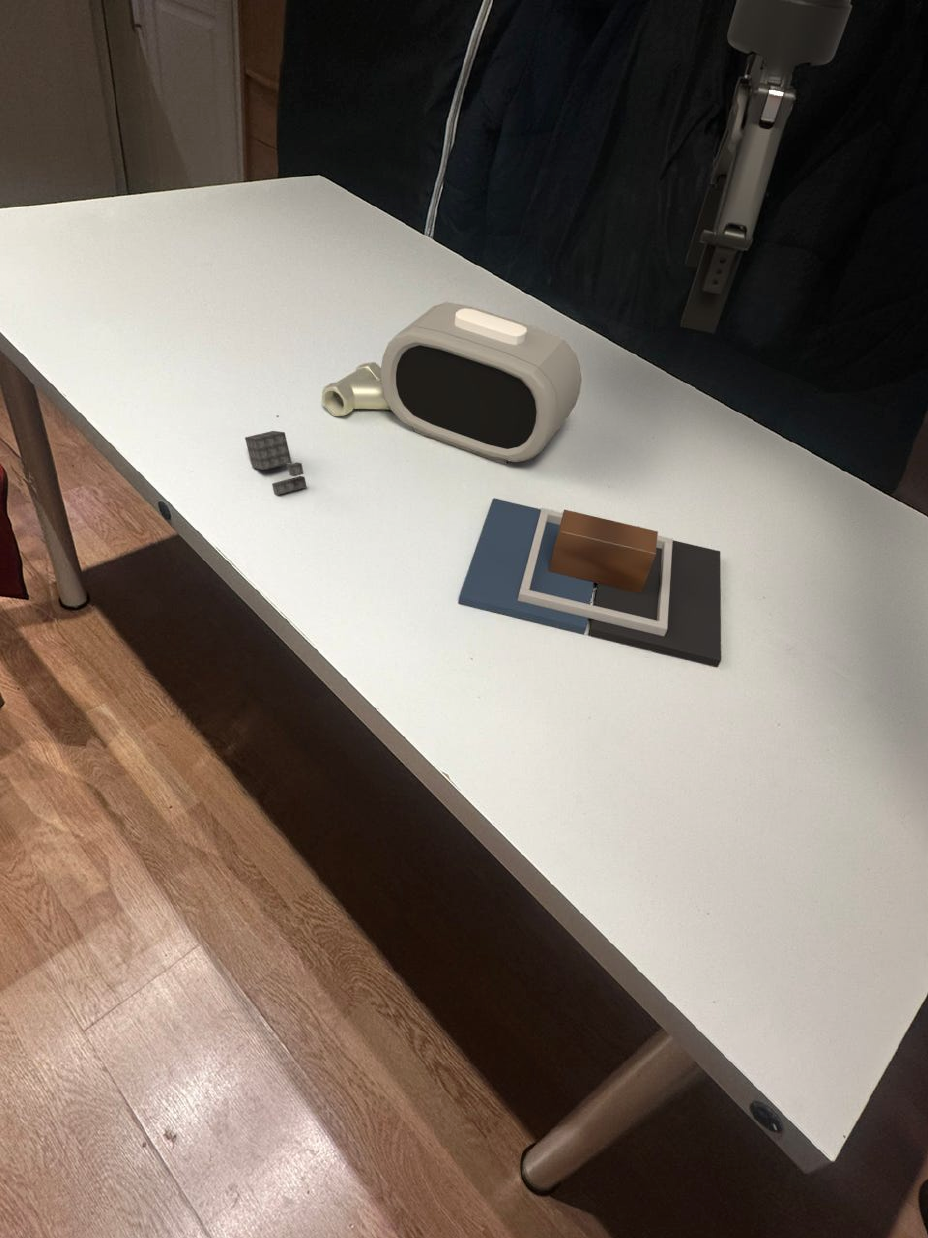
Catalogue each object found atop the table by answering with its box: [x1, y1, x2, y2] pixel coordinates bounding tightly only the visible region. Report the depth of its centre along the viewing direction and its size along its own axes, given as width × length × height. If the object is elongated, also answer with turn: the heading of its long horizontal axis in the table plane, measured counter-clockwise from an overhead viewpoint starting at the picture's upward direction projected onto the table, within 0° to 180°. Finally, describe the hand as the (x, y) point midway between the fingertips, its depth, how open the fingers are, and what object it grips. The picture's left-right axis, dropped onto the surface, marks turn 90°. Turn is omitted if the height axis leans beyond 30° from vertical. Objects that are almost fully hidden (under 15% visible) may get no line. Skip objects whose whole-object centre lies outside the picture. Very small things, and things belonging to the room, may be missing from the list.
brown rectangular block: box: [549, 509, 659, 594], centre depth 78 cm, size 9×4×5 cm, turn 77°
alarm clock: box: [380, 301, 582, 465], centre depth 92 cm, size 21×10×13 cm, turn 65°
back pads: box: [458, 497, 722, 668], centre depth 79 cm, size 24×16×2 cm, turn 77°
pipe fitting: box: [321, 361, 392, 417], centre depth 96 cm, size 8×4×7 cm
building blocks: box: [244, 430, 308, 496], centre depth 84 cm, size 3×6×8 cm
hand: (698, 295), depth 70 cm, fingers open, 13 cm apart
